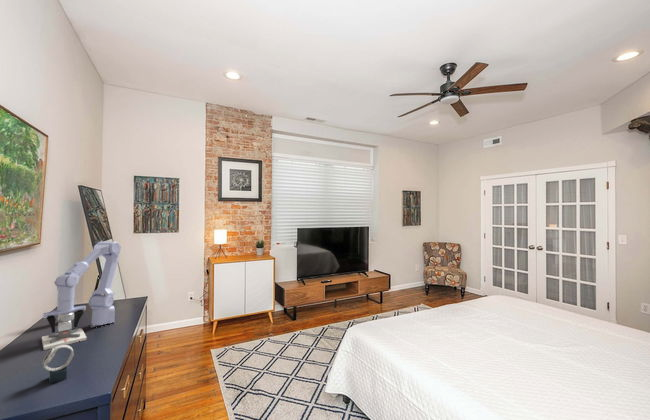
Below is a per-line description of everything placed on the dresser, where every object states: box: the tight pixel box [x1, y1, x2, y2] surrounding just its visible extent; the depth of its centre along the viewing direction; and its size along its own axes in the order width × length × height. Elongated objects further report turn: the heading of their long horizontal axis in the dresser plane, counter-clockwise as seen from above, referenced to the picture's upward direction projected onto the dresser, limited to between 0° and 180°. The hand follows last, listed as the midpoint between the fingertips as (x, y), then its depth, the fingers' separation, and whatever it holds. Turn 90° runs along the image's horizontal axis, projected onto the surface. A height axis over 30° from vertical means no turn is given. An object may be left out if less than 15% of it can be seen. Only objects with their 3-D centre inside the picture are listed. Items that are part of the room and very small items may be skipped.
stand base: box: [41, 327, 88, 351], centre depth 129 cm, size 14×16×4 cm
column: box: [57, 321, 73, 333], centre depth 129 cm, size 4×4×6 cm
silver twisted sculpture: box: [57, 291, 76, 323], centre depth 151 cm, size 6×7×20 cm
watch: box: [41, 344, 75, 385], centre depth 98 cm, size 6×8×11 cm
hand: (64, 329), depth 129 cm, fingers open, 7 cm apart
